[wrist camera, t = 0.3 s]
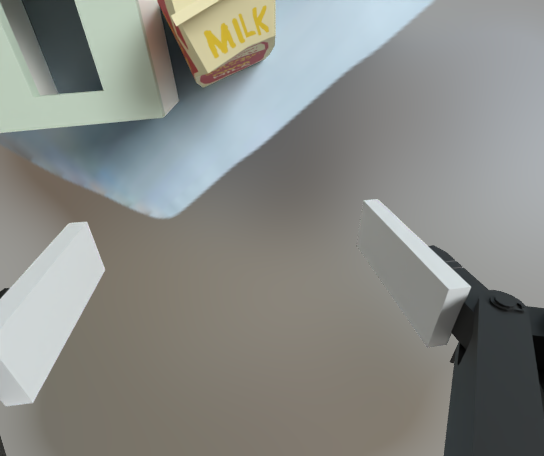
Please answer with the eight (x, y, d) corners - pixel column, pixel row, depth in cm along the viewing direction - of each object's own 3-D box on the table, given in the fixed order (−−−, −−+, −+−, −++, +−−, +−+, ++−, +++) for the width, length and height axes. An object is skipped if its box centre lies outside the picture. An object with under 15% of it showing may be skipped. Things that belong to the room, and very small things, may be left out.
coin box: (-10, -49, 27) (-132, -103, 18) (146, -56, 29) (108, -110, 19) (56, 112, 35) (-6, 133, 25) (179, 101, 36) (163, 117, 26)
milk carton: (203, 87, 35) (184, 118, 18) (159, -4, 31) (80, -77, 14) (273, 54, 35) (323, 54, 18) (240, -44, 30) (263, -173, 13)
